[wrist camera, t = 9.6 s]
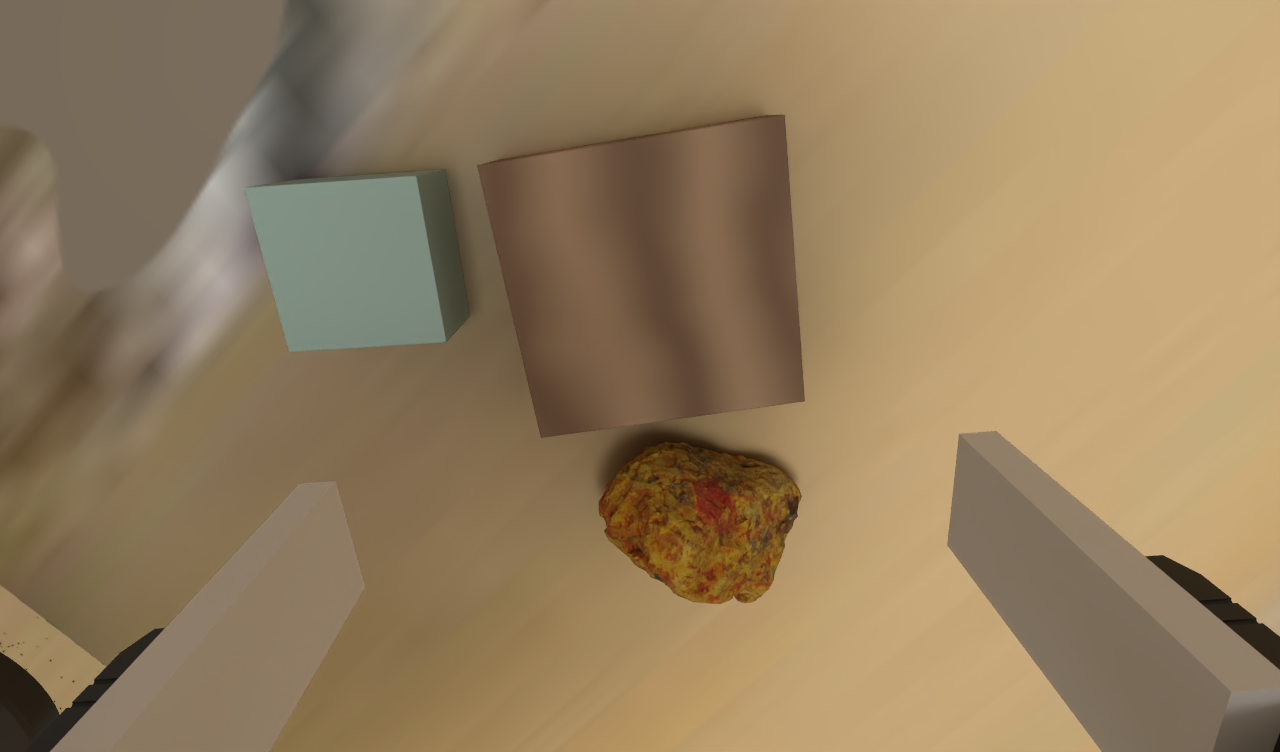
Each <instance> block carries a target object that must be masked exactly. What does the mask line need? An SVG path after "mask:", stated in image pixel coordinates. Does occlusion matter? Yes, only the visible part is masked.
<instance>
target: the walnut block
mask: <svg viewBox="0 0 1280 752" xmlns="http://www.w3.org/2000/svg"><path fill="white" fill-rule="evenodd" d="M477 167H478V171H479V175H480V180H481V184H482V188H483V192H484V197H485V201H486V205H487V209H488V214H489V218H490V222H491V226H492V231H493V235H494V239H495V243H496V248H497V252H498V256H499V261H500V265H501V269H502V273H503V278H504V282H505V286H506V290H507V295H508V299H509V303H510V307H511V312H512V316H513V320H514V324H515V329H516V333H517V337H518V341H519V346H520V350H521V354H522V359H523V363H524V367H525V371H526V376H527V380H528V384H529V388H530V393H531V397H532V401H533V405H534V410H535V414H536V418H537V422H538V427H539V431H540V435H541V438H543V437H550V436H558V435H565V434H572V433H579V432H586V431H594V430H601V429H608V428H615V427H623V426H630V425H637V424H644V423H651V422H659V421H666V420H673V419H680V418H687V417H695V416H702V415H709V414H716V413H723V412H731V411H738V410H745V409H752V408H759V407H767V406H774V405H781V404H788V403H795V402H803V401H805V399H804V384H803V370H802V356H801V342H800V327H799V313H798V299H797V284H796V270H795V256H794V242H793V227H792V213H791V199H790V185H789V170H788V156H787V142H786V128H785V115H766V116H760V117H754V118H748V119H742V120H736V121H730V122H724V123H718V124H712V125H706V126H700V127H694V128H688V129H682V130H676V131H670V132H664V133H658V134H651V135H645V136H639V137H633V138H627V139H621V140H615V141H609V142H603V143H597V144H591V145H585V146H579V147H573V148H567V149H561V150H555V151H549V152H543V153H537V154H531V155H525V156H519V157H513V158H507V159H501V160H496V161H492V162H489V163H485V164H481V165H478V166H477Z"/></svg>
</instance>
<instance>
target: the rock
mask: <svg viewBox="0 0 1280 752" xmlns="http://www.w3.org/2000/svg"><path fill="white" fill-rule="evenodd" d="M801 497H802V496H801V493H800V490H799V488H798V487H797V485H796V484H795V483H794V482H793V480H792V479H791V478H790V477H788V476H787V475H786V474H784V473H783V472H782V471H781V470H779V469H778V468H776V467H774V466H772V465H769V464H765V463H762V462H759V461H757V460H754V459H749V460H748V459H746V458H745V457H743V456H741V455H737V456H733V455H729V454H727V453H725V452H724V453H718V452H715V451H711V450H709V449H706V448H702V447H692V446H691V445H689V444H687V443H683V442H681V443H669V442H663V443H660V444H658V445H656V446H646V447H645V449H644V450H642V453H641V454H639V455H638V456H637V457H636V458H635V459H634V460H632V461H629V462H627V463H626V464H625V465H623V466H622V468H621V469H620V471H619V472H618V474H617V475H616V478H615V479H614V480H611V482H610V484H608V485H607V486H606V490H605V492H604V495H603V496H602V498H601V499H600V501H599V514H600V516H601V517H603V518H604V520H605V521H606V526H607V528H606V529H605V533H606V536H607V538H608V540H609V541H610V542H612V543H613V544H614V545H615V546H616V547H618V548H619V549H620V550H621V551H622V552H623V553H624V554H626V555H627V556H628V557H630V559H631V560H632V562H633V563H634V564H635V565H636V566H638V567H639V568H641V569H643V570H645V571H646V572H647V573H648V574H649V575H650V577H652V578H654V579H658V580H659V581H661V582H664V583H665V584H666V585H667V586H668V587H670V589H671V590H672V591H673V593H675V594H676V595H678V596H680V597H683V598H686V599H688V600H690V601H692V602H700V603H711V604H721V603H724V602H726V601H729V600H731V599H732V598H733V596H735V598H736V599H737V600H738V601H739V602H742V603H751V602H753V601H756V599H757V598H759V597H761V596H762V595H763V594H764V593H765V592H766V591H767V590H768V589H769V588H770V586H771V584H772V582H773V580H774V573H775V571H776V568H777V566H778V564H779V561H780V559H781V556H782V553H783V550H784V547H785V543H784V541H785V538H786V536H787V534H788V532H789V531H790V530H791V528H792V526H793V522H794V520H795V519H796V518H797V517H798V515H797V509H798V504H799V502H800V500H801Z"/></svg>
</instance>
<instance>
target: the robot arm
mask: <svg viewBox="0 0 1280 752" xmlns="http://www.w3.org/2000/svg"><path fill="white" fill-rule="evenodd" d="M947 545H948V547H949V548H950V549H951V551H952V552H953V553H954V555H955V556H956V557H957V559H958V560H959V561H960V563H961V564H962V565H963V567H964V568H965V569H966V571H967V572H968V573H969V575H970V576H971V577H972V579H973V580H974V581H975V583H976V584H977V585H978V587H979V588H980V589H981V591H982V592H983V593H984V595H985V596H986V597H987V599H988V600H989V601H990V603H991V604H992V605H993V607H994V608H995V609H996V611H997V612H998V613H999V615H1000V616H1001V617H1002V619H1003V620H1004V621H1005V623H1006V624H1007V625H1008V627H1009V628H1010V629H1011V631H1012V632H1013V633H1014V635H1015V636H1016V637H1017V639H1018V640H1019V641H1020V643H1021V644H1022V645H1023V647H1024V648H1025V649H1026V651H1027V652H1028V654H1029V655H1030V656H1031V658H1032V659H1033V660H1034V662H1035V663H1036V664H1037V666H1038V667H1039V668H1040V670H1041V671H1042V672H1043V674H1044V675H1045V676H1046V678H1047V679H1048V680H1049V682H1050V683H1051V684H1052V686H1053V687H1054V688H1055V690H1056V691H1057V692H1058V694H1059V695H1060V696H1061V698H1062V699H1063V700H1064V702H1065V703H1066V704H1067V706H1068V707H1069V708H1070V710H1071V711H1072V712H1073V714H1074V715H1075V716H1076V718H1077V719H1078V720H1079V722H1080V723H1081V724H1082V726H1083V727H1084V728H1085V730H1086V731H1087V732H1088V734H1089V735H1090V736H1091V738H1092V739H1093V740H1094V742H1095V743H1096V744H1097V746H1098V747H1099V748H1100V750H1101V751H1102V752H1280V637H1279V636H1278V635H1277V634H1276V633H1274V632H1273V631H1272V630H1271V629H1269V628H1268V627H1267V626H1266V625H1264V624H1263V623H1261V624H1258V622H1257V621H1256V618H1255V617H1254V616H1253V615H1252V614H1250V613H1249V612H1248V611H1247V610H1245V609H1244V608H1243V607H1241V606H1240V605H1239V604H1238V603H1232V601H1231V598H1230V597H1229V596H1228V595H1226V594H1225V593H1224V592H1223V591H1221V590H1220V589H1219V588H1217V587H1216V586H1215V585H1214V584H1212V583H1211V582H1210V581H1209V580H1207V579H1206V578H1205V577H1204V576H1202V575H1201V574H1199V573H1197V572H1195V571H1193V570H1191V569H1189V568H1187V567H1185V566H1183V565H1181V564H1179V563H1177V562H1175V561H1173V560H1171V559H1169V558H1167V557H1165V556H1163V555H1159V556H1144V555H1143V554H1142V553H1140V552H1139V551H1138V550H1137V549H1136V548H1134V547H1133V546H1132V545H1131V544H1130V543H1128V542H1127V541H1126V540H1125V539H1124V538H1123V537H1121V536H1120V535H1119V534H1118V533H1117V532H1115V531H1114V530H1113V529H1112V528H1111V527H1109V526H1108V525H1107V524H1106V523H1105V522H1104V521H1102V520H1101V519H1100V518H1099V517H1098V516H1096V515H1095V514H1094V513H1093V512H1092V511H1090V510H1089V509H1088V508H1087V507H1086V506H1085V505H1083V504H1082V503H1081V502H1080V501H1079V500H1077V499H1076V498H1075V497H1074V496H1073V495H1071V494H1070V493H1069V492H1068V491H1067V490H1066V489H1064V488H1063V487H1062V486H1061V485H1060V484H1058V483H1057V482H1056V481H1055V480H1054V479H1052V478H1051V477H1050V476H1049V475H1048V474H1047V473H1045V472H1044V471H1043V470H1042V469H1041V468H1039V467H1038V466H1037V465H1036V464H1035V463H1033V462H1032V461H1031V460H1030V459H1029V458H1028V457H1026V456H1025V455H1024V454H1023V453H1022V452H1020V451H1019V450H1018V449H1017V448H1016V447H1014V446H1013V445H1012V444H1011V443H1010V442H1009V441H1007V440H1006V439H1005V438H1004V437H1003V436H1001V435H1000V434H999V433H998V432H997V431H991V432H978V433H965V434H959V440H958V449H957V459H956V468H955V478H954V487H953V497H952V506H951V516H950V525H949V535H948V544H947ZM364 588H365V584H364V580H363V577H362V573H361V570H360V566H359V563H358V559H357V555H356V552H355V548H354V545H353V541H352V538H351V534H350V531H349V527H348V523H347V520H346V516H345V513H344V509H343V506H342V502H341V498H340V495H339V491H338V488H337V484H336V481H326V482H313V483H300V484H299V485H298V486H297V487H296V488H295V489H294V490H293V491H292V492H291V494H290V495H289V496H288V497H287V498H286V499H285V500H284V501H283V502H282V503H281V504H280V505H279V506H278V507H277V509H276V510H275V511H274V512H273V513H272V514H271V515H270V516H269V517H268V518H267V519H266V520H265V521H264V522H263V524H262V525H261V526H260V527H259V528H258V529H257V530H256V531H255V532H254V533H253V534H252V535H251V536H250V538H249V539H248V540H247V541H246V542H245V543H244V544H243V545H242V546H241V547H240V548H239V549H238V550H237V551H236V553H235V554H234V555H233V556H232V557H231V558H230V559H229V560H228V561H227V562H226V563H225V564H224V565H223V566H222V568H221V569H220V570H219V571H218V572H217V573H216V574H215V575H214V576H213V577H212V578H211V579H210V580H209V582H208V583H207V584H206V585H205V586H204V587H203V588H202V589H201V590H200V591H199V592H198V593H197V594H196V595H195V597H194V598H193V599H192V600H191V601H190V602H189V603H188V604H187V605H186V606H185V607H184V608H183V609H182V611H181V612H180V613H179V614H178V615H177V616H176V617H175V618H174V619H173V620H172V621H171V622H170V623H169V624H168V626H167V627H166V628H161V629H154V630H153V631H151V632H150V633H148V634H147V635H145V636H144V637H142V638H141V639H140V640H138V641H137V642H135V643H134V644H132V645H131V646H129V647H128V648H127V649H125V650H124V651H122V652H121V653H120V654H119V655H118V656H117V657H116V658H115V659H114V660H113V661H112V662H111V663H110V664H109V665H108V666H107V667H106V668H105V669H104V670H103V671H102V672H101V673H100V674H99V675H98V676H97V677H96V678H95V679H94V684H93V685H89V686H88V687H87V688H86V689H85V690H84V691H83V692H82V693H81V694H80V695H79V696H78V697H77V698H76V699H75V700H74V701H73V702H72V703H73V704H72V707H71V708H66V709H65V710H64V711H63V712H62V713H61V714H60V715H59V712H58V710H57V708H56V706H55V704H54V702H53V701H52V699H51V698H50V696H49V695H48V693H47V692H46V691H45V690H44V688H43V687H42V686H41V685H40V684H39V683H38V681H37V680H36V679H35V678H34V677H32V676H31V675H30V674H29V673H28V672H27V671H26V670H25V669H23V668H22V667H21V666H20V665H18V664H17V663H16V662H14V661H13V660H12V659H10V658H9V657H7V656H5V655H4V654H2V653H1V652H0V752H270V750H271V749H272V747H273V745H274V743H275V742H276V740H277V738H278V736H279V735H280V733H281V731H282V730H283V728H284V726H285V724H286V723H287V721H288V719H289V718H290V716H291V714H292V712H293V711H294V709H295V707H296V705H297V704H298V702H299V700H300V699H301V697H302V695H303V693H304V692H305V690H306V688H307V687H308V685H309V683H310V681H311V680H312V678H313V676H314V674H315V673H316V671H317V669H318V668H319V666H320V664H321V662H322V661H323V659H324V657H325V656H326V654H327V652H328V650H329V649H330V647H331V645H332V643H333V642H334V640H335V638H336V637H337V635H338V633H339V631H340V630H341V628H342V626H343V625H344V623H345V621H346V619H347V618H348V616H349V614H350V613H351V611H352V609H353V607H354V606H355V604H356V602H357V600H358V599H359V597H360V595H361V594H362V592H363V590H364Z"/></svg>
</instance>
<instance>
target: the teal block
mask: <svg viewBox="0 0 1280 752" xmlns="http://www.w3.org/2000/svg"><path fill="white" fill-rule="evenodd" d="M244 189H245V193H246V197H247V200H248V204H249V208H250V211H251V215H252V219H253V222H254V226H255V229H256V233H257V237H258V240H259V244H260V248H261V251H262V255H263V259H264V262H265V266H266V270H267V273H268V277H269V281H270V284H271V288H272V292H273V295H274V299H275V302H276V306H277V310H278V313H279V317H280V321H281V324H282V328H283V332H284V335H285V339H286V343H287V346H288V350H289V352H298V351H314V350H330V349H346V348H362V347H377V346H393V345H409V344H425V343H441V342H447V341H448V340H449V339H450V337H451V336H452V335H453V334H454V333H455V332H456V331H457V330H458V329H459V327H460V326H461V325H462V324H463V323H464V322H465V321H466V320H467V318H468V317H469V316H470V314H469V308H468V302H467V296H466V290H465V284H464V278H463V272H462V266H461V260H460V254H459V248H458V242H457V236H456V230H455V224H454V218H453V212H452V206H451V200H450V194H449V188H448V182H447V176H446V170H445V169H439V170H424V171H410V172H396V173H381V174H367V175H353V176H338V177H324V178H310V179H296V180H289V181H283V182H277V183H271V184H265V185H258V186H252V187H246V188H244Z"/></svg>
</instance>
